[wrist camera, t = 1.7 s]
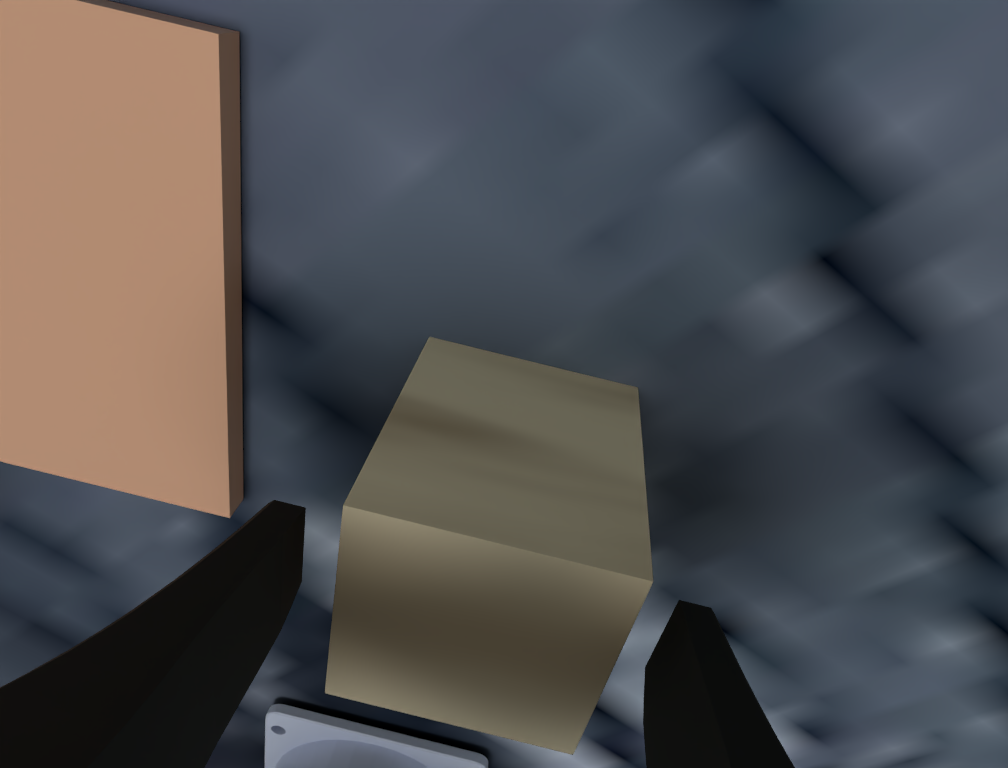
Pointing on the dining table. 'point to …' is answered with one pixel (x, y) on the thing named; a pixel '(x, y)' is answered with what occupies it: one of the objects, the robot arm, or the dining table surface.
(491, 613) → the block
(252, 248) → the dining table surface
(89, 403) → the tile
